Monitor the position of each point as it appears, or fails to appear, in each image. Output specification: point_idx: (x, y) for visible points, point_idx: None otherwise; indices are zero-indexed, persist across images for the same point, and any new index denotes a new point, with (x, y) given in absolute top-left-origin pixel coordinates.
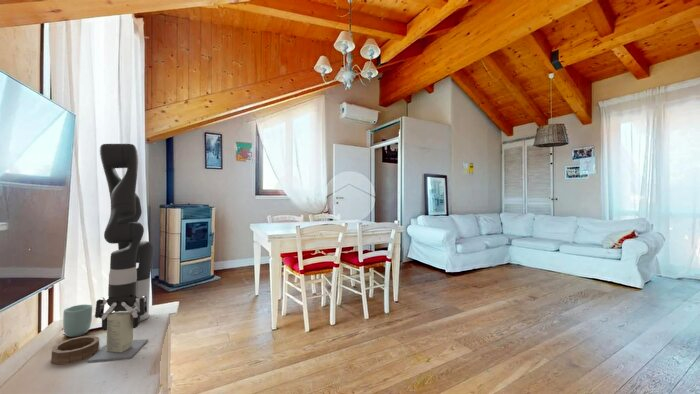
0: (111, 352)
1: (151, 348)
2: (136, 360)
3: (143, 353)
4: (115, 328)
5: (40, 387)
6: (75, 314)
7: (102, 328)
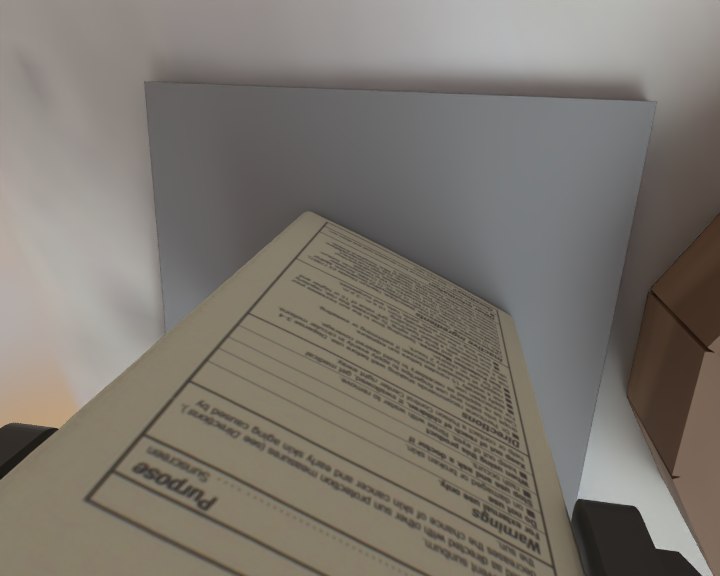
0: (434, 262)
1: (64, 286)
2: (73, 18)
3: (86, 185)
4: (326, 417)
5: None
6: None
7: (678, 553)
